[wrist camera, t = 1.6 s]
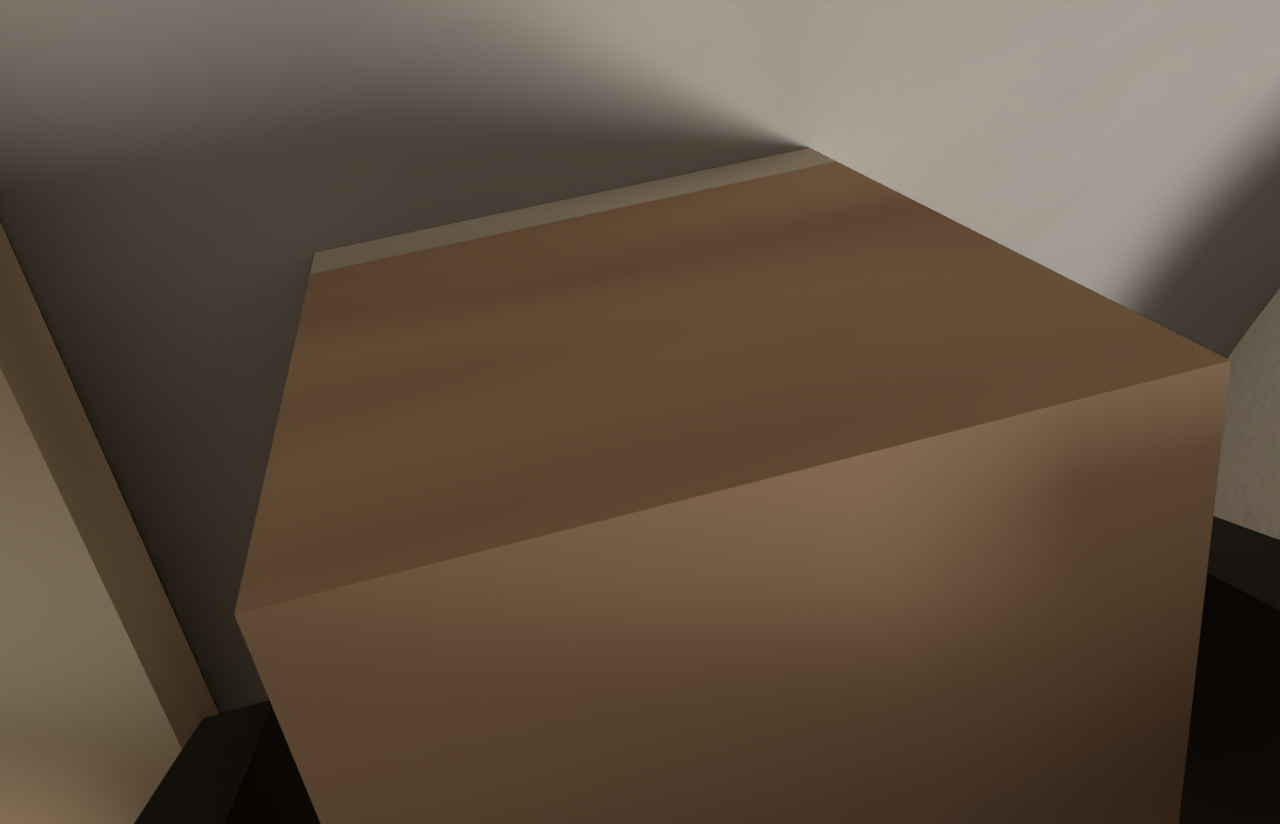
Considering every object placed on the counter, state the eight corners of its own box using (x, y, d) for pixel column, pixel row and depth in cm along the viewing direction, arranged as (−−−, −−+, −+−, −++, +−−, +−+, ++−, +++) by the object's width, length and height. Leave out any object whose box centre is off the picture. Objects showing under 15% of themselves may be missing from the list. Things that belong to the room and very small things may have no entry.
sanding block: (854, 728, 14) (1134, 1206, 9) (495, 833, 13) (565, 1417, 8) (806, 146, 11) (1231, 360, 5) (315, 250, 10) (234, 615, 5)
